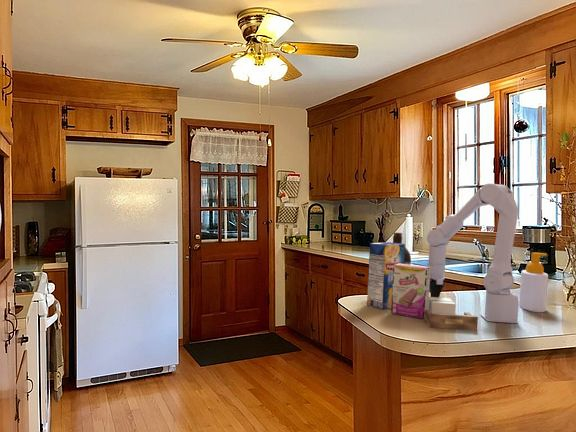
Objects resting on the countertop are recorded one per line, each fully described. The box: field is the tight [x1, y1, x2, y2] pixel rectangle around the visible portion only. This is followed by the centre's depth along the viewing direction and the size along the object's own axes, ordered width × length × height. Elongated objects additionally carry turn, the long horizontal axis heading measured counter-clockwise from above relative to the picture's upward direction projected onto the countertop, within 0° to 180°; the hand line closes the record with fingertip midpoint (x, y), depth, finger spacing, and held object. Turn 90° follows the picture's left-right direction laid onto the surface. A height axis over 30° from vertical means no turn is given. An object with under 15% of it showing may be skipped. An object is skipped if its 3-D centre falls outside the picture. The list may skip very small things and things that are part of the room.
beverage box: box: [366, 241, 406, 310], centre depth 168 cm, size 7×11×22 cm, turn 130°
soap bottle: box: [518, 252, 549, 313], centre depth 172 cm, size 13×8×20 cm, turn 168°
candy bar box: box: [390, 263, 431, 320], centre depth 155 cm, size 11×5×16 cm, turn 59°
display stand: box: [424, 310, 479, 332], centre depth 145 cm, size 14×10×4 cm
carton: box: [428, 296, 456, 315], centre depth 160 cm, size 8×9×4 cm
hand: (434, 300), depth 170 cm, fingers closed
